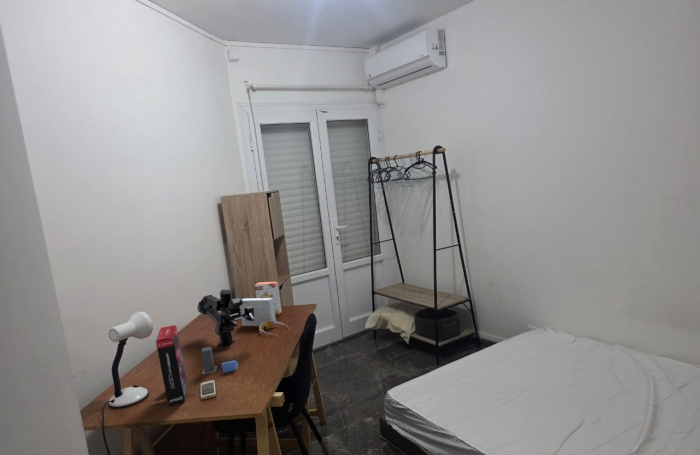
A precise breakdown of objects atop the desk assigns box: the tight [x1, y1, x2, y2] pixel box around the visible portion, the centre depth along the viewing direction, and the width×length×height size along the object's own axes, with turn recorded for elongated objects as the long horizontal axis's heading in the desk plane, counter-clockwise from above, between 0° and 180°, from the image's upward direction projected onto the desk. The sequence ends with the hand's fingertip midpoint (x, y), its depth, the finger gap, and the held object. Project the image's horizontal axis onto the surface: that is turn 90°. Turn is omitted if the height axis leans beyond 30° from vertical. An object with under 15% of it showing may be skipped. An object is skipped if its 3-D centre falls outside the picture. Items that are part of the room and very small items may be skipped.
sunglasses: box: [258, 320, 290, 337], centre depth 229 cm, size 14×15×5 cm
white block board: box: [201, 359, 239, 375], centre depth 186 cm, size 20×13×5 cm, turn 103°
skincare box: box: [239, 297, 277, 327], centre depth 243 cm, size 21×5×16 cm, turn 71°
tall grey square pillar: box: [200, 346, 216, 373], centre depth 184 cm, size 4×4×10 cm
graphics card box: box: [155, 324, 188, 407], centre depth 165 cm, size 17×7×27 cm, turn 20°
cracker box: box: [254, 281, 282, 316], centre depth 261 cm, size 14×6×21 cm, turn 81°
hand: (245, 322), depth 198 cm, fingers open, 9 cm apart
